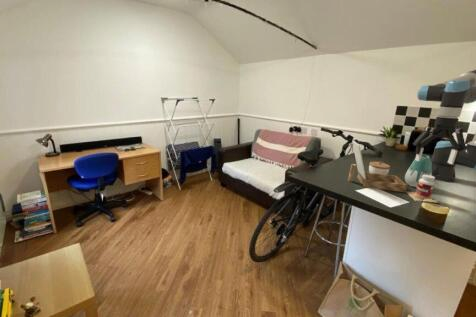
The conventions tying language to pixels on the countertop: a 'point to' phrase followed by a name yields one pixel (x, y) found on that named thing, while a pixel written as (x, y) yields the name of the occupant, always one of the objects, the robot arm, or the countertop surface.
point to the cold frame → (379, 181)
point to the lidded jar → (378, 168)
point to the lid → (359, 159)
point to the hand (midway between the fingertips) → (433, 162)
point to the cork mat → (412, 194)
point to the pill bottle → (425, 187)
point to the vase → (418, 170)
